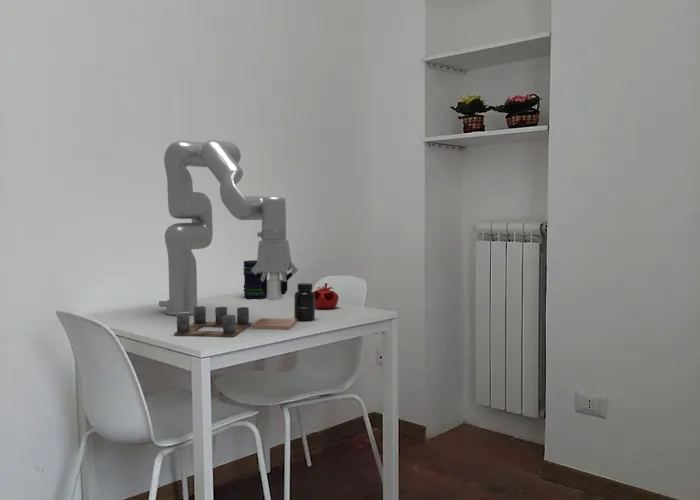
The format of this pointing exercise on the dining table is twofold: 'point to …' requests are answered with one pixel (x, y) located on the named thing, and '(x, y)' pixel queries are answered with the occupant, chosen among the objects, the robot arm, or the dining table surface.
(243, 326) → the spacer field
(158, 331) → the dining table surface
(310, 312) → the supplement bottle
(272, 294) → the pepper shaker
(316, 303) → the pomegranate
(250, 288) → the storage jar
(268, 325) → the terracotta tile
